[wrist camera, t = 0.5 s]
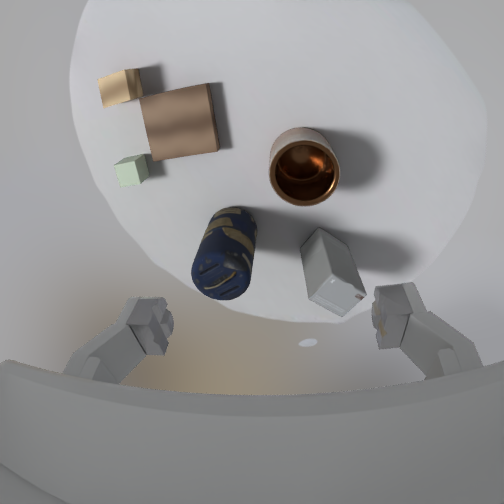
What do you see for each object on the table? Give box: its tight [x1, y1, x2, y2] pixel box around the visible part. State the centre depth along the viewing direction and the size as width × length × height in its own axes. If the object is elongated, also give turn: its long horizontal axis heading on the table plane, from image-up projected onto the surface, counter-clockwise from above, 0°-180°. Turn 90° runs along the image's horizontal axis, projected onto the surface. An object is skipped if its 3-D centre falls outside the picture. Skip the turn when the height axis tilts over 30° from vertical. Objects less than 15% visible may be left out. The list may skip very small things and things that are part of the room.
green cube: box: [114, 154, 149, 187], centre depth 53 cm, size 4×4×4 cm
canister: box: [191, 208, 257, 300], centre depth 54 cm, size 10×10×18 cm
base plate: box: [139, 83, 220, 162], centre depth 49 cm, size 12×12×2 cm
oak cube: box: [98, 69, 143, 108], centre depth 44 cm, size 6×6×6 cm
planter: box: [269, 128, 340, 206], centre depth 48 cm, size 11×11×10 cm
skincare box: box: [300, 227, 367, 317], centre depth 55 cm, size 8×7×16 cm
